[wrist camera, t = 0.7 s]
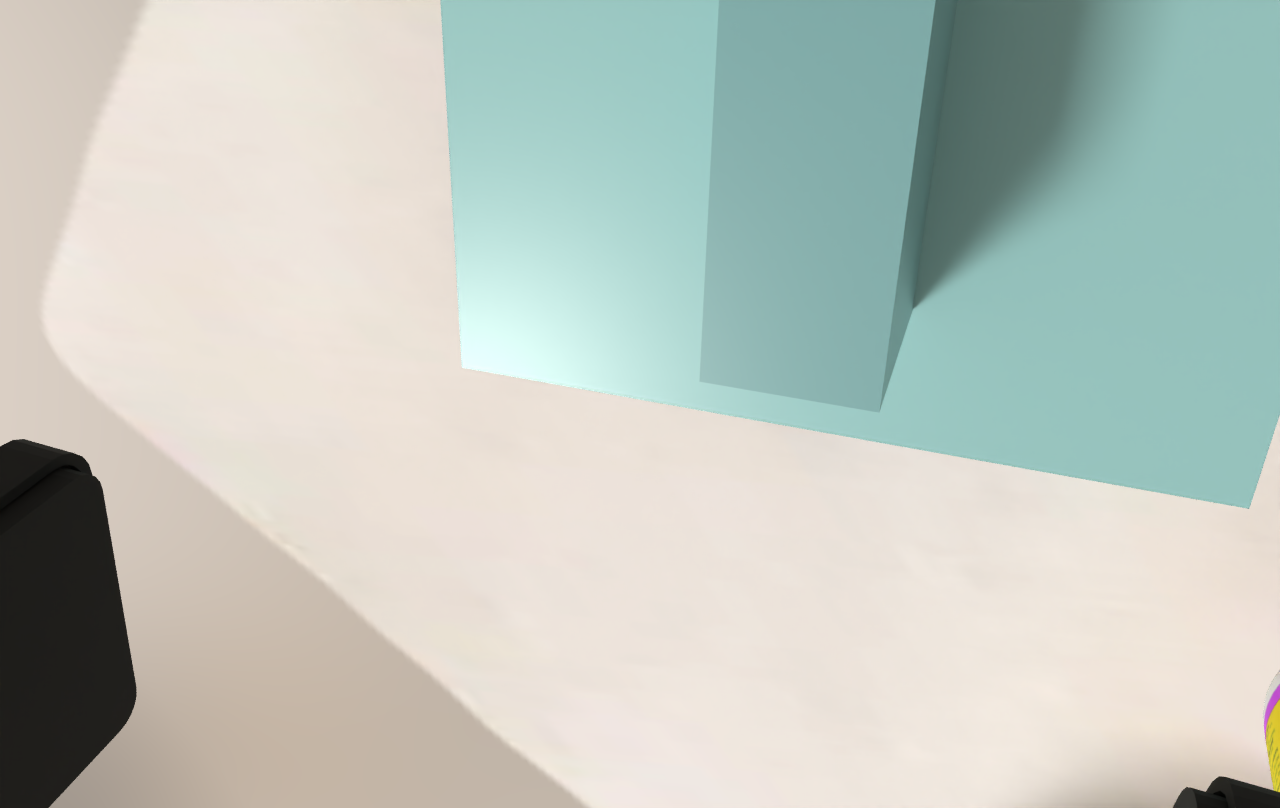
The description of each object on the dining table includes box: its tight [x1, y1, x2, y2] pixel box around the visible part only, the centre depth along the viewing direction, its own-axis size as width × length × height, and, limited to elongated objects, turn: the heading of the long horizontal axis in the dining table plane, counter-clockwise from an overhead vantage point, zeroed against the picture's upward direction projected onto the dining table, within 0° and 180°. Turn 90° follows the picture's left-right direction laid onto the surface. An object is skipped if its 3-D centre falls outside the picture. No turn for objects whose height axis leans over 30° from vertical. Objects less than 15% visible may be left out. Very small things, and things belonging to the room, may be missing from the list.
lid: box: [441, 0, 1280, 509], centre depth 24 cm, size 19×15×8 cm
